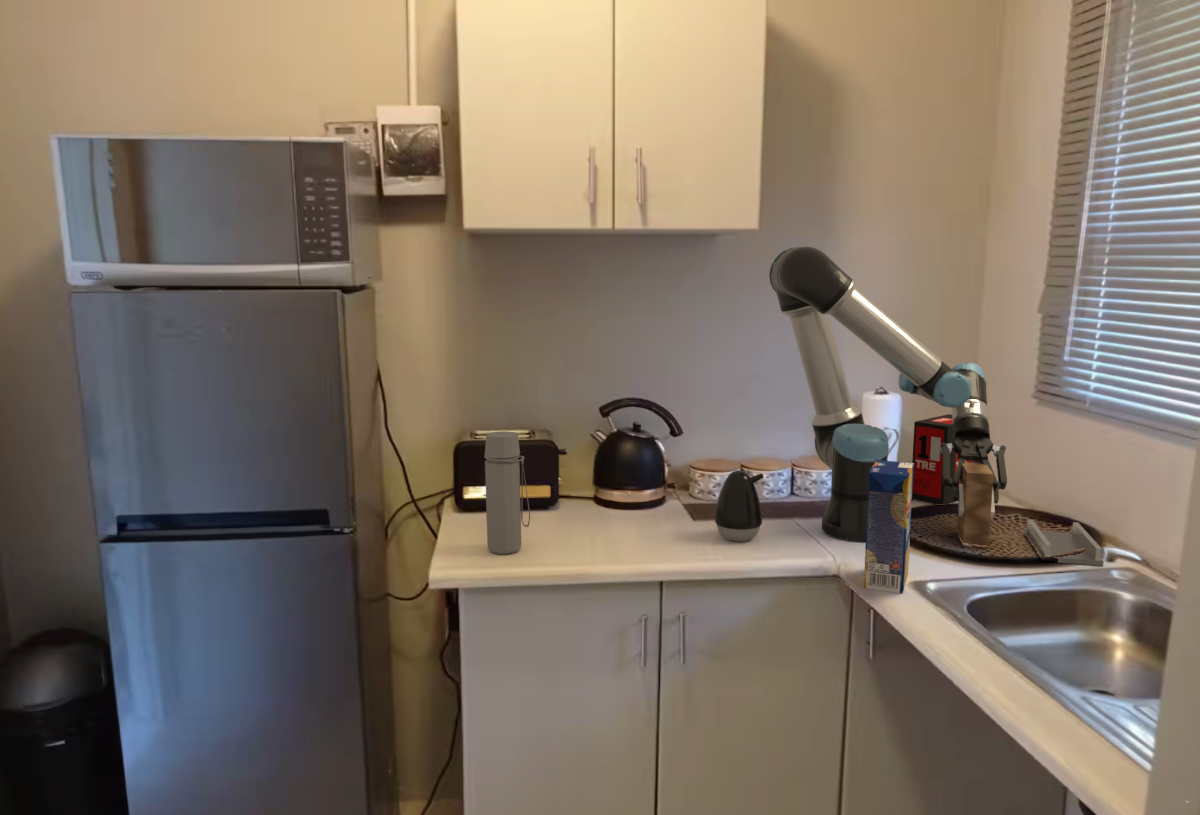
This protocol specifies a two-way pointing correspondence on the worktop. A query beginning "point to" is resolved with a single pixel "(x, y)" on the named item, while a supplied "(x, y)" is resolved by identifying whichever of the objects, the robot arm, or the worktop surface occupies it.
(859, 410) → the robot arm
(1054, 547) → the floor track
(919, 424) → the cleaning product box
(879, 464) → the beverage box
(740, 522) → the pump dispenser
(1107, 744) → the worktop surface
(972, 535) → the brown wooden block
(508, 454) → the water bottle
